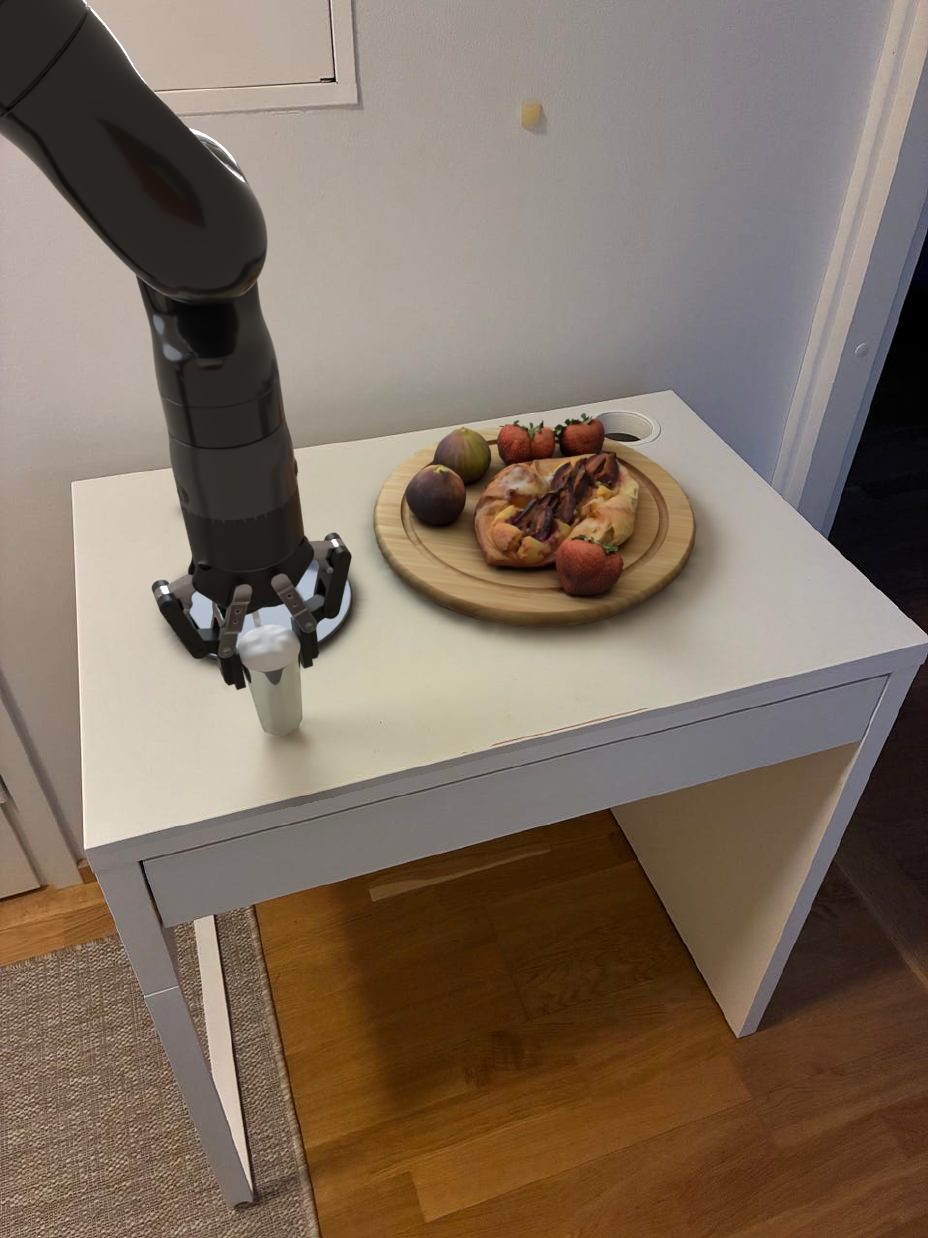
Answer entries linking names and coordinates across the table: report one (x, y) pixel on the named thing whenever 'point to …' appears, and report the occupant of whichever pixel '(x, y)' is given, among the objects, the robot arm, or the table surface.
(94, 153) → the robot arm
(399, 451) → the table surface
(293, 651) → the milkshake
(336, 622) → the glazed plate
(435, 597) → the wooden plate
